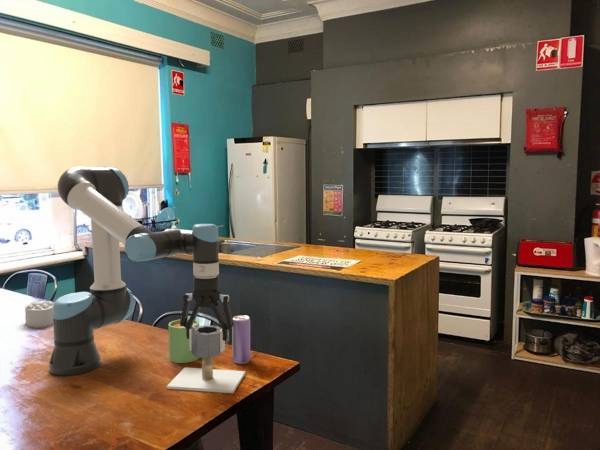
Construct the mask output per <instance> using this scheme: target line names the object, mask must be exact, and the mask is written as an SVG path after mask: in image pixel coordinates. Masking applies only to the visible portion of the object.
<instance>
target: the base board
mask: <svg viewBox="0 0 600 450" xmlns="http://www.w3.org/2000/svg"><path fill="white" fill-rule="evenodd" d="M245 375H246V371H245V370H233V369H216V368H215V369H214V368H213V379H212V380H208V381H205V380H203V379H202V367H200V368H199V367H185V366H184V367H183V369H182V370H181V371H180V372H178V374H177V375H176V376H175V377H174V378H172V380H171V381H170V382H169V383H168V384H167V385H166V389H168V390H181V391H194V392H197V391H198V392H208V393H209V392H211V393H223V394H234V393H235V391H236V390H237V388H238V386H239V385H240V383H241V382H242V380H243V379H244V377H245Z"/></svg>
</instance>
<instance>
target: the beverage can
mask: <svg viewBox="0 0 600 450" xmlns="http://www.w3.org/2000/svg"><path fill="white" fill-rule="evenodd" d="M232 317H233V322H234V326H233V327H232V328H231V329H232V331H231V334H232V335H231V339H232V340H231V341H232V343H231V347H232V350H231V351H232V352H231V353H232V361H233V363H234V364H236V365H243V364H247V363H249V362H250V361H251V319H250V316H249V315H243V314H242V315H241V314H240V315H235V316H232Z"/></svg>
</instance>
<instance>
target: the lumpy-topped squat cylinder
mask: <svg viewBox="0 0 600 450" xmlns="http://www.w3.org/2000/svg"><path fill="white" fill-rule="evenodd" d="M53 304H54V302H52V301H51V300H49V301H45V300H39V301H33V302H30V303H29V304H26V305H25V308H24V312H25V326H28V327H30V328H46V327H50V326H53V316H52V313H53Z"/></svg>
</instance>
